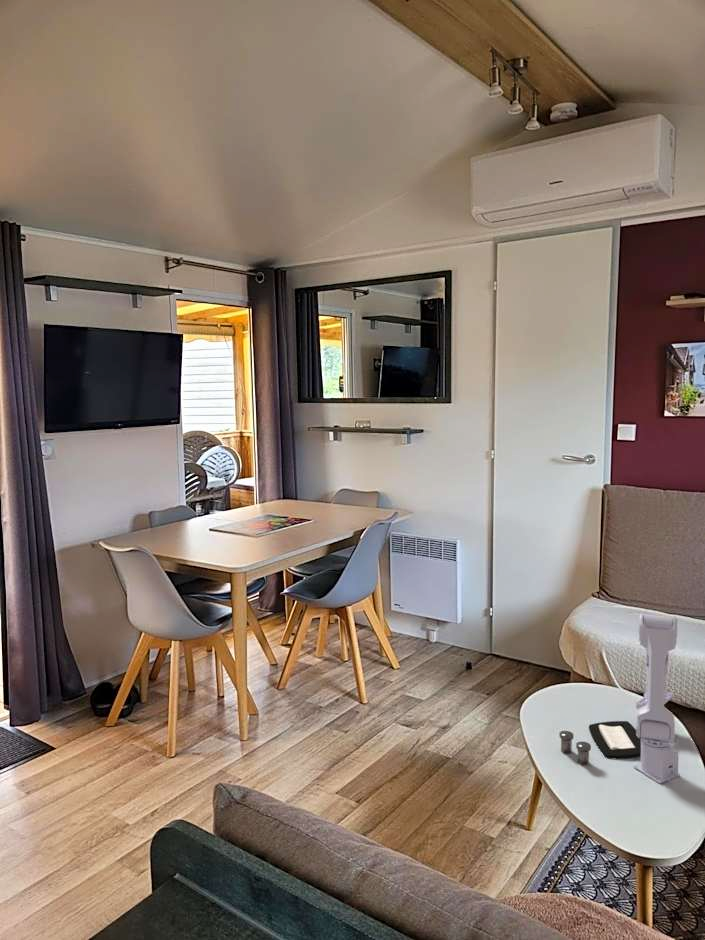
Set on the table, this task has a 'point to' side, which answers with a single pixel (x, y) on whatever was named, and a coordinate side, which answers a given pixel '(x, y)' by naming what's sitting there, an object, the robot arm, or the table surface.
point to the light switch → (616, 739)
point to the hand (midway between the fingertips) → (655, 725)
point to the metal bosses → (581, 746)
